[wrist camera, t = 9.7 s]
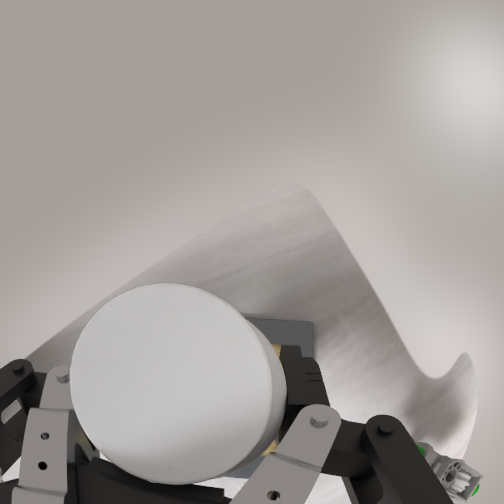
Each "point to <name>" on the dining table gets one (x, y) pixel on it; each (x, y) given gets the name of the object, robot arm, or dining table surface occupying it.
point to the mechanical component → (452, 473)
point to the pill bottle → (176, 385)
